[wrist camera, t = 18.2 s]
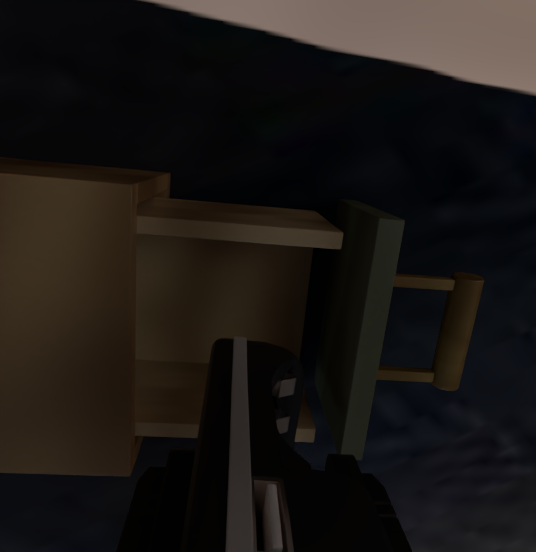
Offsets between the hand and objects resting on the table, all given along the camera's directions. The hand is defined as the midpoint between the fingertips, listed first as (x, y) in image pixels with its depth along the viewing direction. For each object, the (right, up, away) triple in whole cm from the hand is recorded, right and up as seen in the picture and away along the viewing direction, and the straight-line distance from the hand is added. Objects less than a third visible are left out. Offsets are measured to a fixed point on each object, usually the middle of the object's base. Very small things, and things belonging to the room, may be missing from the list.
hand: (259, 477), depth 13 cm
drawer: (0, +5, +15) cm, 16 cm away
